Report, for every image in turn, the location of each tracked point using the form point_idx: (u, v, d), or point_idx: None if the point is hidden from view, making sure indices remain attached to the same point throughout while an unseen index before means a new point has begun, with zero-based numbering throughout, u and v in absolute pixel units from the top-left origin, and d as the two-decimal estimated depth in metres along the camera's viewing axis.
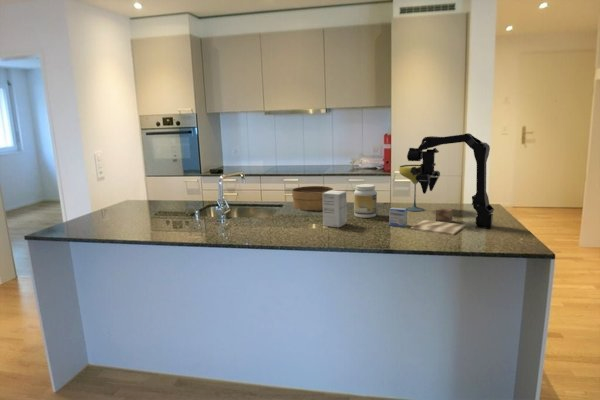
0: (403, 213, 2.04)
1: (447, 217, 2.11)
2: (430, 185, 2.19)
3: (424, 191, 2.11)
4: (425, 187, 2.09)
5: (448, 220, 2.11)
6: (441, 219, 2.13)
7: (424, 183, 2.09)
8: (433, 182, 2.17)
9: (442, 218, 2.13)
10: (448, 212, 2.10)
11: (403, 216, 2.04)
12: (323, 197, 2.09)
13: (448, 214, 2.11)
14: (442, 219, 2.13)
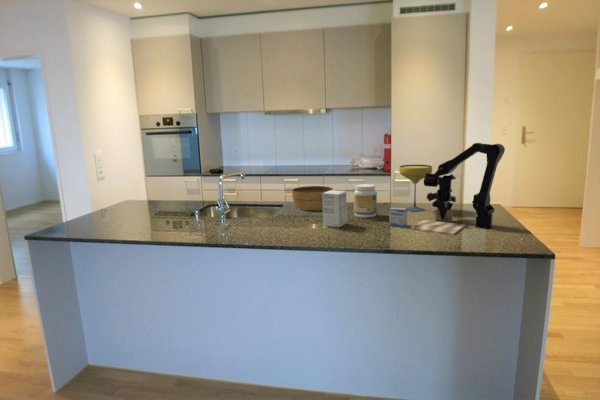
0: (403, 213, 2.04)
1: (447, 217, 2.11)
2: None
3: (442, 216, 2.12)
4: (443, 213, 2.11)
5: (448, 220, 2.11)
6: (441, 219, 2.13)
7: (442, 209, 2.10)
8: (448, 208, 2.15)
9: None
10: (448, 212, 2.10)
11: (403, 216, 2.04)
12: (323, 197, 2.09)
13: (448, 214, 2.11)
14: (442, 219, 2.13)
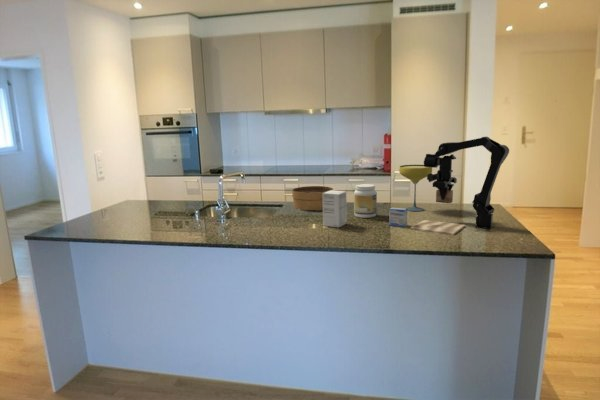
0: (403, 213, 2.04)
1: (447, 198, 2.09)
2: None
3: (443, 197, 2.10)
4: (444, 193, 2.08)
5: (448, 201, 2.09)
6: (441, 200, 2.11)
7: (443, 189, 2.08)
8: (448, 189, 2.12)
9: None
10: (448, 192, 2.08)
11: (403, 216, 2.04)
12: (323, 197, 2.09)
13: (448, 194, 2.08)
14: (442, 200, 2.10)
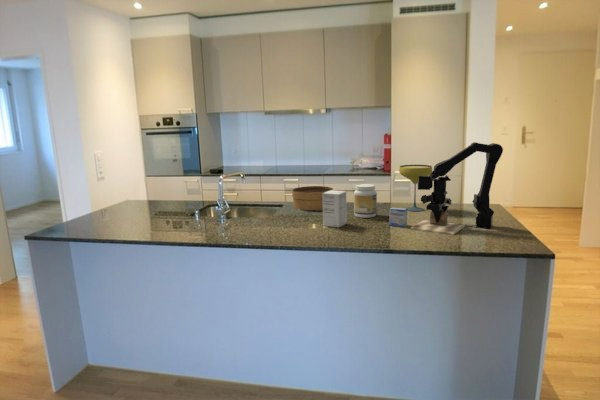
0: (403, 213, 2.04)
1: (442, 220, 2.02)
2: None
3: (437, 220, 2.02)
4: (438, 216, 2.01)
5: (443, 223, 2.02)
6: (435, 222, 2.04)
7: (437, 212, 2.01)
8: (443, 211, 2.05)
9: None
10: (443, 215, 2.01)
11: (403, 216, 2.04)
12: (323, 197, 2.09)
13: (443, 217, 2.01)
14: (437, 222, 2.03)
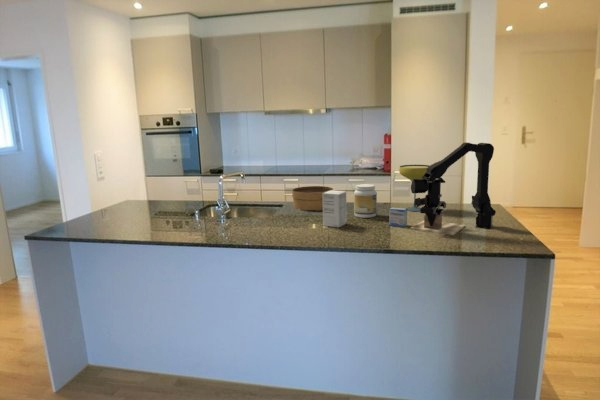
0: (403, 213, 2.04)
1: (436, 223, 1.96)
2: None
3: (431, 223, 1.96)
4: (432, 219, 1.95)
5: (437, 227, 1.96)
6: (430, 226, 1.98)
7: (431, 215, 1.95)
8: None
9: None
10: (437, 218, 1.95)
11: (403, 216, 2.04)
12: (323, 197, 2.09)
13: (437, 220, 1.95)
14: None
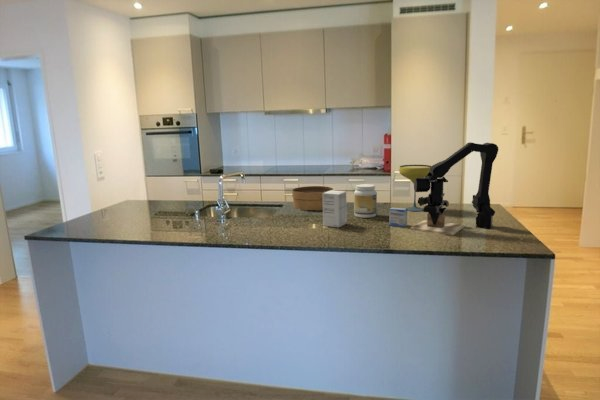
0: (403, 213, 2.04)
1: (439, 222, 1.98)
2: None
3: (434, 222, 1.99)
4: (435, 218, 1.98)
5: (440, 225, 1.98)
6: None
7: (434, 214, 1.98)
8: None
9: None
10: (440, 216, 1.98)
11: (403, 216, 2.04)
12: (323, 197, 2.09)
13: (440, 218, 1.98)
14: None
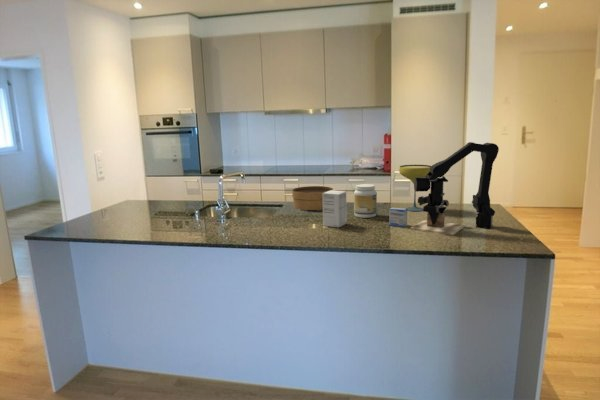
0: (403, 213, 2.04)
1: (439, 222, 1.99)
2: None
3: (433, 222, 1.99)
4: (434, 218, 1.97)
5: (440, 225, 1.99)
6: (432, 224, 2.01)
7: (433, 214, 1.97)
8: None
9: None
10: (440, 216, 1.98)
11: (403, 216, 2.04)
12: (323, 197, 2.09)
13: (440, 218, 1.98)
14: None
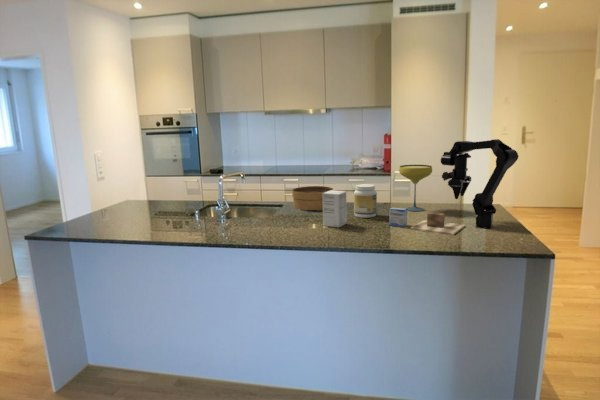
0: (403, 213, 2.04)
1: (439, 222, 1.99)
2: (461, 190, 2.15)
3: (456, 196, 2.08)
4: (457, 192, 2.06)
5: (440, 225, 1.99)
6: (432, 224, 2.01)
7: (456, 188, 2.06)
8: (464, 187, 2.14)
9: (433, 222, 2.00)
10: (440, 216, 1.98)
11: (403, 216, 2.04)
12: (323, 197, 2.09)
13: (440, 218, 1.98)
14: (434, 224, 2.00)
